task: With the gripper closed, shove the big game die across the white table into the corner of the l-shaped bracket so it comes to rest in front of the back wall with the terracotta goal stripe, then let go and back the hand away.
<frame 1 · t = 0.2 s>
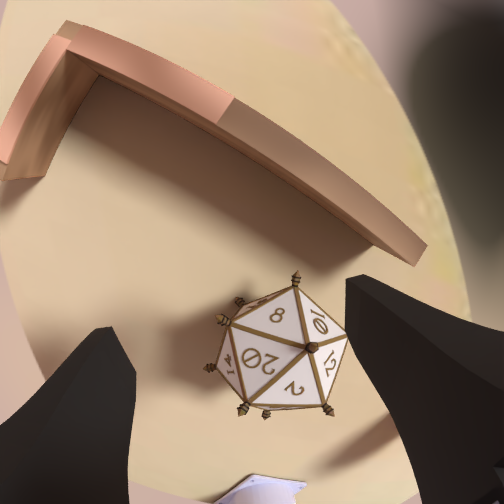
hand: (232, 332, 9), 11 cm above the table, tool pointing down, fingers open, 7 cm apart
game die: (268, 320, 21), on the table
l-shaped bracket: (185, 278, 19), on the table
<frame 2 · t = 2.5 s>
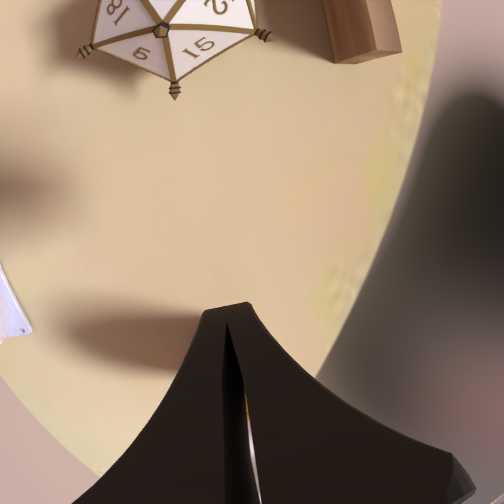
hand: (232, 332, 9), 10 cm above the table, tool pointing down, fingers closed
game die: (181, 27, 13), on the table
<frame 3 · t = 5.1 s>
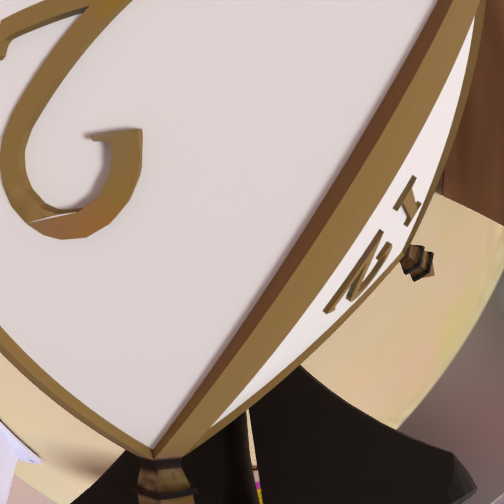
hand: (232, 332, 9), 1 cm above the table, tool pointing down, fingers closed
game die: (186, 116, 8), on the table, touching gripper
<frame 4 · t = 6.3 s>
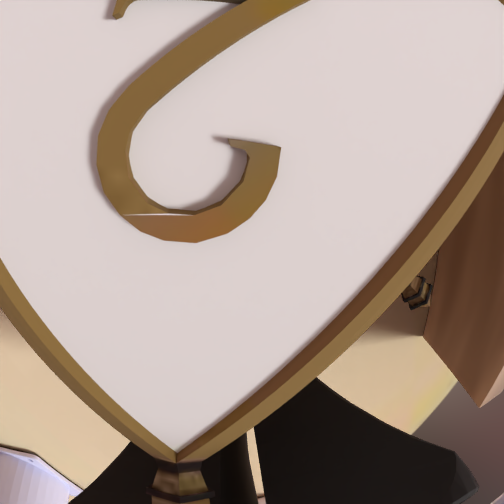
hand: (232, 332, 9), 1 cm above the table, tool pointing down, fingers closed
supplement bottle: (273, 500, 20), on the table
game die: (205, 116, 8), on the table, touching gripper
l-shaped bracket: (190, 138, 8), on the table
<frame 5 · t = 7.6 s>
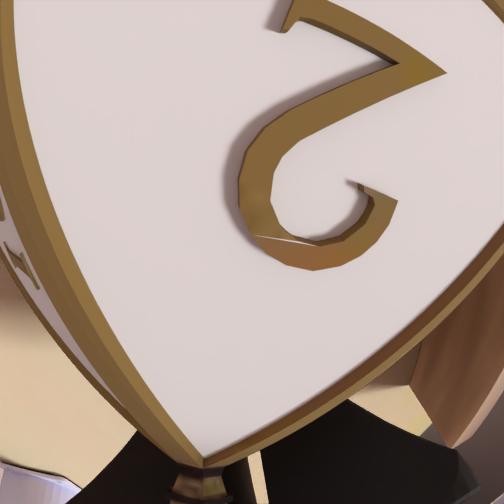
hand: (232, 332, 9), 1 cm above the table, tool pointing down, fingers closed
game die: (224, 120, 8), on the table, touching gripper
l-shaped bracket: (219, 265, 9), on the table
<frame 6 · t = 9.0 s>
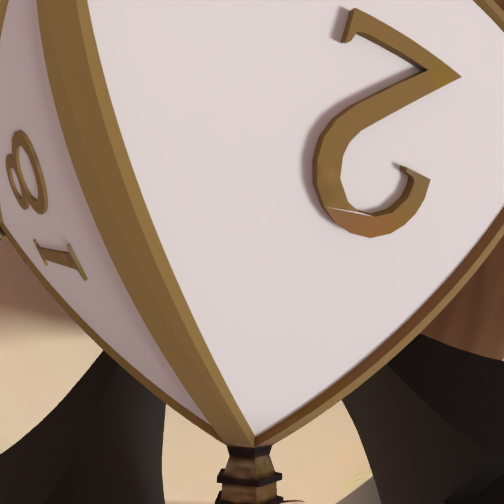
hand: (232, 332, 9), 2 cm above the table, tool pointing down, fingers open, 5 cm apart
game die: (228, 121, 8), on the table, touching gripper
l-shaped bracket: (219, 263, 9), on the table
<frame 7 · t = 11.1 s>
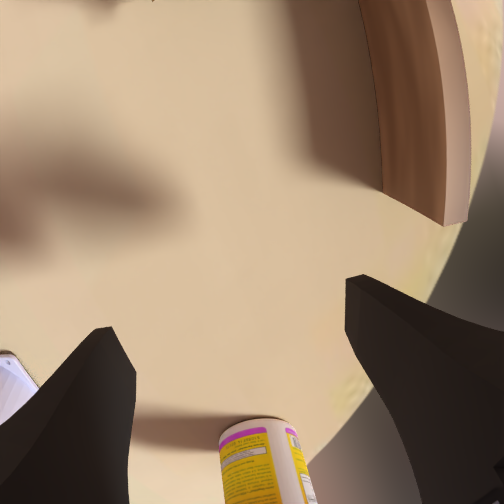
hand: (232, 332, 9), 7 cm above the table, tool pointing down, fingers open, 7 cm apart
supplement bottle: (256, 433, 23), on the table
l-shaped bracket: (181, 15, 10), on the table
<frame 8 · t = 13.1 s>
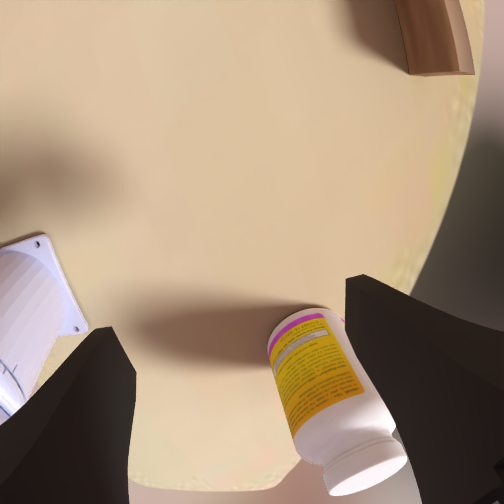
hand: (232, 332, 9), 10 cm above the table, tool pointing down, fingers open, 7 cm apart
supplement bottle: (305, 336, 23), on the table
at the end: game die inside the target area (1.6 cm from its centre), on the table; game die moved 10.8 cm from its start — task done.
